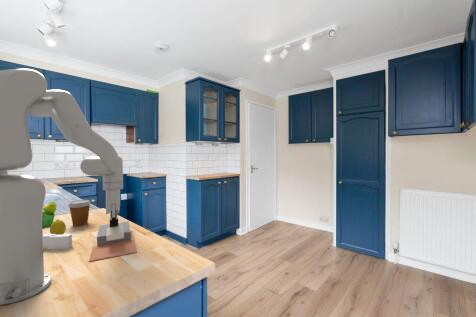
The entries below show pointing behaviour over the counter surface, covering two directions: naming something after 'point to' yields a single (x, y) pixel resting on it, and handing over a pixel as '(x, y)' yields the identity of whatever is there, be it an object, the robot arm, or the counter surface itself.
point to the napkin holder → (57, 241)
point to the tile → (114, 233)
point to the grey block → (102, 240)
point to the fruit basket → (48, 214)
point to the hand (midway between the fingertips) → (114, 228)
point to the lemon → (57, 227)
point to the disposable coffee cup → (79, 212)
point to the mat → (112, 250)
